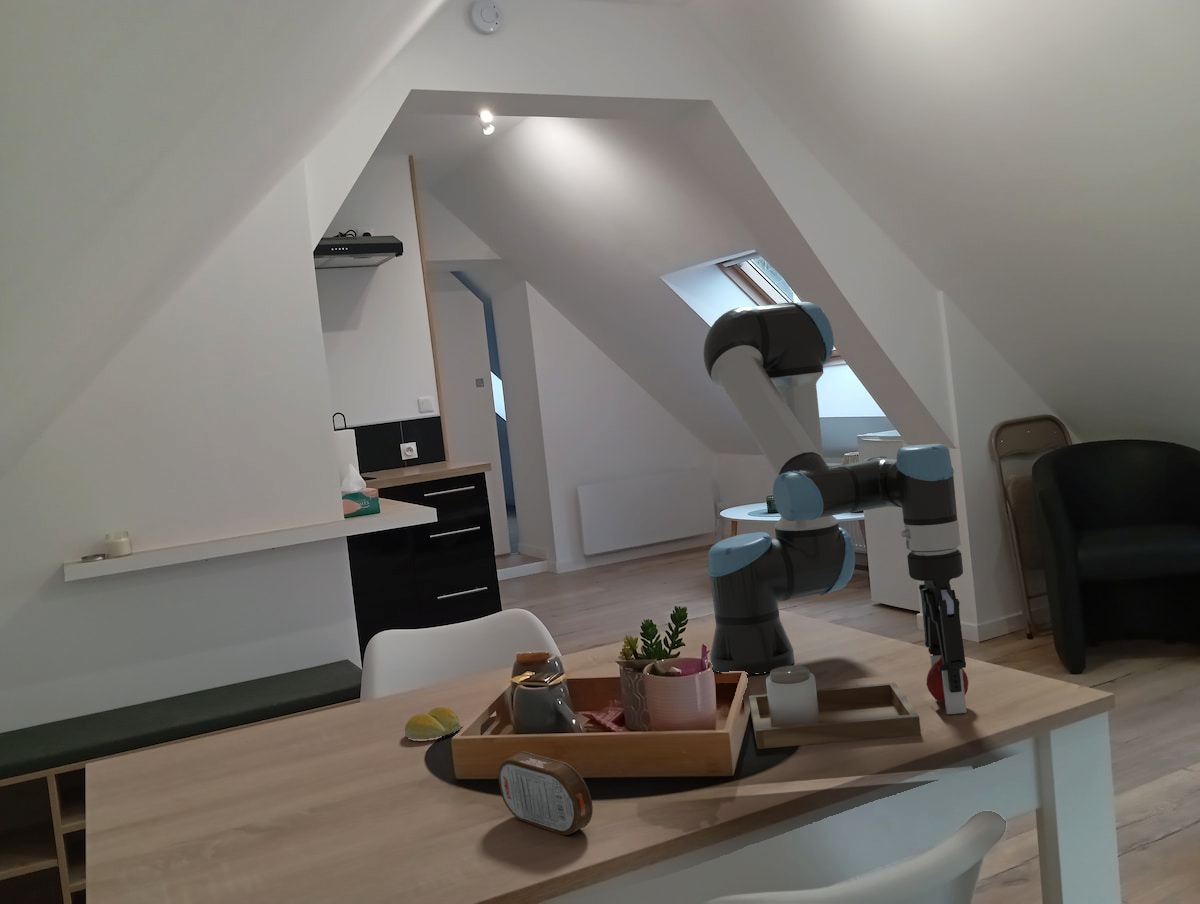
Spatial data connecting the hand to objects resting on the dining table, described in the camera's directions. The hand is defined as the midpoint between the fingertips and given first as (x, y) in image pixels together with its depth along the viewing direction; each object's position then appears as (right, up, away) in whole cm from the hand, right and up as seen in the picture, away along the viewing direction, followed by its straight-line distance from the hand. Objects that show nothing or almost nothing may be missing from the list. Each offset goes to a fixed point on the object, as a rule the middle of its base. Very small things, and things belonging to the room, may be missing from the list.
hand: (950, 704), depth 146 cm
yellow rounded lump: (-79, -10, +18) cm, 82 cm away
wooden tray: (-18, -3, -3) cm, 19 cm away
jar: (-23, -2, -3) cm, 24 cm away
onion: (0, -1, 0) cm, 1 cm away
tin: (-58, -9, -24) cm, 64 cm away
